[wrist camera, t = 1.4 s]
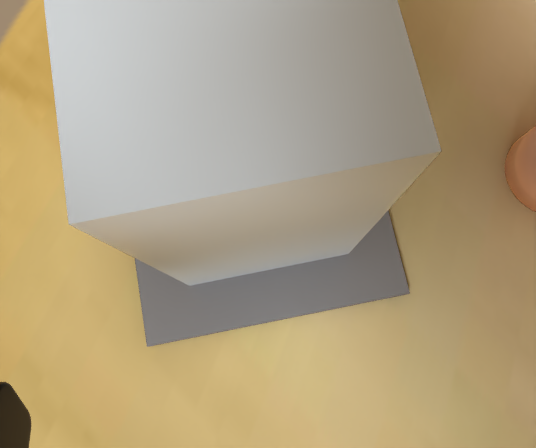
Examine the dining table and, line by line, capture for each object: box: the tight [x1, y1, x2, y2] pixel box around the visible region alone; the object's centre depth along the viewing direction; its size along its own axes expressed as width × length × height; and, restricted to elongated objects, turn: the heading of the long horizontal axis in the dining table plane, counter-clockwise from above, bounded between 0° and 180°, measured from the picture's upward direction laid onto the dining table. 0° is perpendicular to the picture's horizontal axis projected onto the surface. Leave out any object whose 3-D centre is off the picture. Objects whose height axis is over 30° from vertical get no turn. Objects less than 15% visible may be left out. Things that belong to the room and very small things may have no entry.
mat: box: [135, 211, 410, 347], centre depth 21 cm, size 11×11×1 cm
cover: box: [44, 0, 441, 286], centre depth 15 cm, size 7×7×12 cm
